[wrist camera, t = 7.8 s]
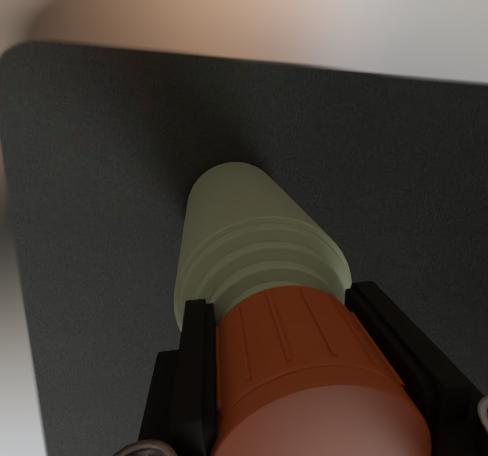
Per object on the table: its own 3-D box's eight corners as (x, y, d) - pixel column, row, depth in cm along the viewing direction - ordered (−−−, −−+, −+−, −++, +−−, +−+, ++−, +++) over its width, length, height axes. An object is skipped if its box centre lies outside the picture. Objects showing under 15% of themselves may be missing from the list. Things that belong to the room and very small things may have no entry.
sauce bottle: (199, 261, 22) (197, 570, 7) (176, 173, 20) (105, 357, 5) (287, 241, 23) (454, 499, 8) (272, 152, 21) (464, 271, 6)
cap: (389, 339, 9) (478, 451, 6) (286, 433, 10) (320, 573, 7) (281, 252, 8) (324, 337, 5) (173, 365, 9) (155, 499, 6)
